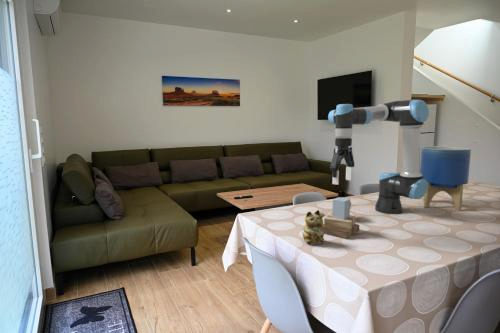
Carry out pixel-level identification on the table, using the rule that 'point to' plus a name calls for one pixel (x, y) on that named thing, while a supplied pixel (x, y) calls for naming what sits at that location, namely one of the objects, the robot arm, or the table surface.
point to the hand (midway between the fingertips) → (342, 182)
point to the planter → (445, 172)
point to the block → (341, 208)
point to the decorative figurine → (313, 227)
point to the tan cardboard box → (340, 231)
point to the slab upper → (339, 222)
